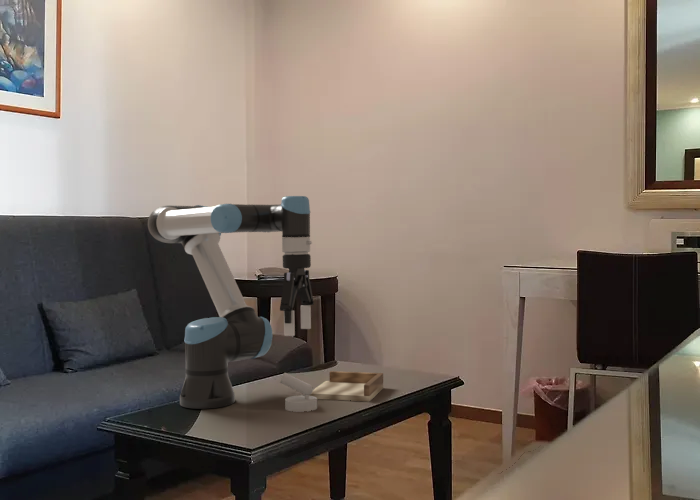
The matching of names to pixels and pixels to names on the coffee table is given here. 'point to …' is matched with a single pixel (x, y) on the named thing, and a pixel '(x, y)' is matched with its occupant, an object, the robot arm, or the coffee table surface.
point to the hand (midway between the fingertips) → (297, 332)
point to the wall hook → (300, 401)
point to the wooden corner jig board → (350, 386)
